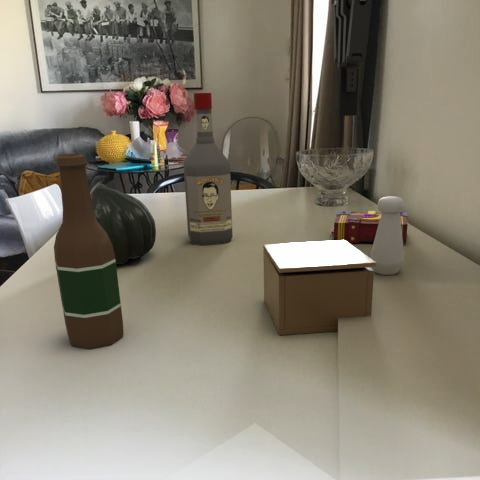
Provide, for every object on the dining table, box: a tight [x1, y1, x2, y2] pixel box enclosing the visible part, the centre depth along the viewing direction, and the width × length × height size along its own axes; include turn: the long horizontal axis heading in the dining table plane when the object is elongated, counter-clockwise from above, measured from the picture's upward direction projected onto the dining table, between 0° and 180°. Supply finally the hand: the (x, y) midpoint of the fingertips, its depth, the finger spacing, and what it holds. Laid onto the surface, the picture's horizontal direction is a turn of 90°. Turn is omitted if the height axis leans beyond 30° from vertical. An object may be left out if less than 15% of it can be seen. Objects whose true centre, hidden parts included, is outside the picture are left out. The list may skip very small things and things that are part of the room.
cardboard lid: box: [262, 240, 376, 273], centre depth 79 cm, size 14×13×1 cm
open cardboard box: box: [262, 249, 375, 336], centre depth 81 cm, size 14×13×8 cm
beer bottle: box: [53, 153, 125, 350], centre depth 72 cm, size 8×8×24 cm
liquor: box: [183, 92, 234, 246], centre depth 119 cm, size 9×9×30 cm
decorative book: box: [330, 210, 409, 244], centre depth 121 cm, size 11×16×5 cm
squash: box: [90, 186, 157, 265], centre depth 110 cm, size 14×15×15 cm
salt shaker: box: [369, 195, 405, 276], centre depth 97 cm, size 6×6×13 cm
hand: (346, 115), depth 86 cm, fingers closed
